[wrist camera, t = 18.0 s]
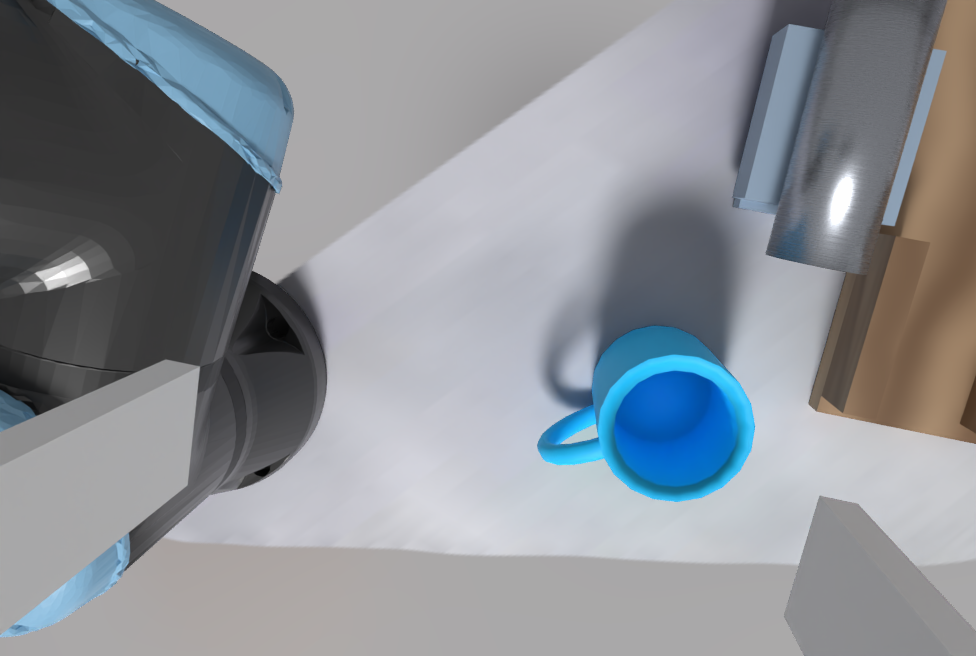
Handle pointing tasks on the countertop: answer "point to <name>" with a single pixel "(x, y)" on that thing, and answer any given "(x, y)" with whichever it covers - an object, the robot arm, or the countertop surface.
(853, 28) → the axle
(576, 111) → the countertop surface
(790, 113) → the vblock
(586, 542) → the countertop surface
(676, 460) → the mug
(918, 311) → the wooden channel tray
